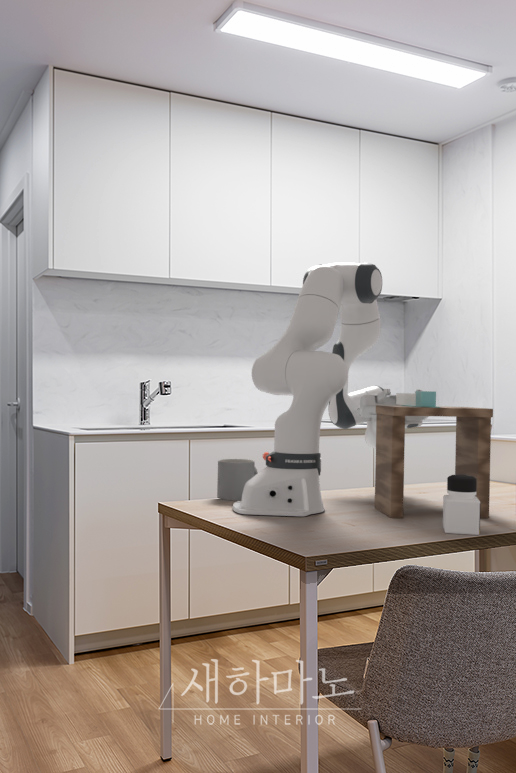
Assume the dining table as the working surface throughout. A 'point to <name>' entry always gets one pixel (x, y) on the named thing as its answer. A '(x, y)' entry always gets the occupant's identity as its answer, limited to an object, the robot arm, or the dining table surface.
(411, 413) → the shelf
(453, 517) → the medicine bottle
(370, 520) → the dining table surface
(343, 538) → the dining table surface
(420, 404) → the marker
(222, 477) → the coffee mug
